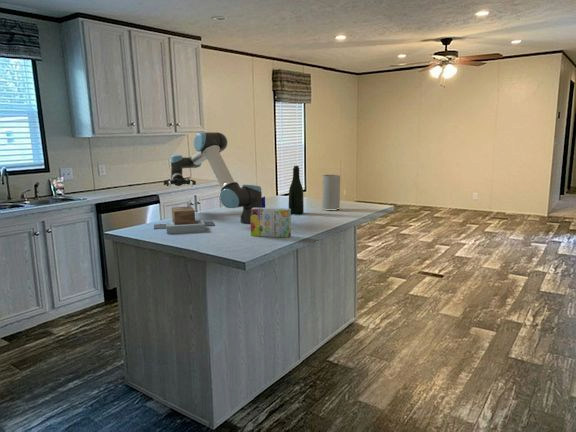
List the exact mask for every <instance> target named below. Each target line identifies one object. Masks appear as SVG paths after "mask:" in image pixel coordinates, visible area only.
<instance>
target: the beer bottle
mask: <svg viewBox="0 0 576 432" xmlns="http://www.w3.org/2000/svg"><path fill="white" fill-rule="evenodd" d="M304 201H305V199H304V189H303V184H302V183H301V180H300V167H299V165H294V166H293V167H292V180H291V183H290V185H289V190H288V209H291V215H293V214H299V215H302V213H303V214H304V210H305V209H304V207H305V206H304V204H305V203H304Z"/></svg>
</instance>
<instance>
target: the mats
mask: <svg viewBox="0 0 576 432" xmlns="http://www.w3.org/2000/svg"><path fill="white" fill-rule="evenodd" d="M204 223H205V227H215V226H216V225H215V223H214V221H212V220H211V221H204ZM197 224H201V223H200V221H198V222H197ZM169 225H171V224H170V223H169ZM162 229H166V223H159V224H157V223H156V224H154V225H153V230H162ZM166 230H167V229H166Z"/></svg>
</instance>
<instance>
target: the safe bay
mask: <svg viewBox="0 0 576 432" xmlns="http://www.w3.org/2000/svg"><path fill="white" fill-rule="evenodd" d="M199 222H200V223H201V224H198V223H195V224H186V225H174V224H173V225H172V224H170V222H169V221H166V222H165V224H166V234H169V235H172V234H182V233H184V234H185V233H186V234H187V233H202V232H204V233H205V232H206V226H205V223H204V222H205V221H204V220H203V219H201V220H199ZM169 224H170V225H169Z"/></svg>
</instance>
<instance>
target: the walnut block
mask: <svg viewBox="0 0 576 432" xmlns="http://www.w3.org/2000/svg"><path fill="white" fill-rule="evenodd" d="M171 214H172V217H171V218H172V219H171V221H172V223H173V225H186V224H196V211H195V209H194V208H193V207H192V206H176V207H175V206H174V207H173V206H172V207H171Z"/></svg>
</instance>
